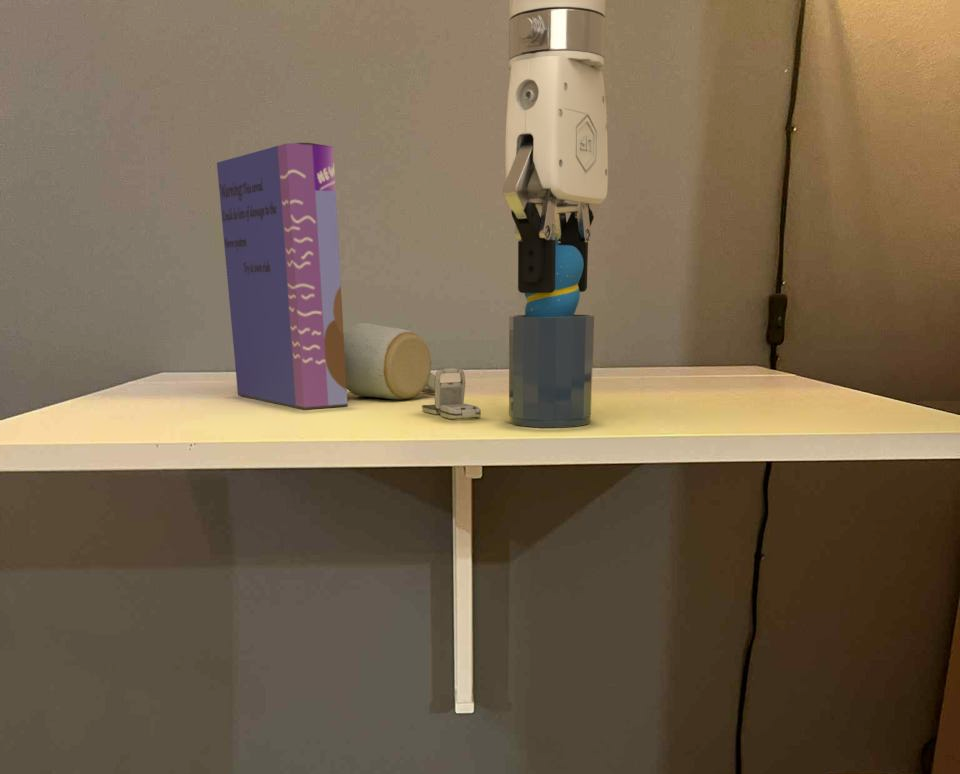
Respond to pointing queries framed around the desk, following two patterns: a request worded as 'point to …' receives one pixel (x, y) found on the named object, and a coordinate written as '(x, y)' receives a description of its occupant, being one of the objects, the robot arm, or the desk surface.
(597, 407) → the desk surface
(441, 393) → the strap clip
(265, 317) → the cereal box
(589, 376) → the cup
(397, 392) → the ceramic mug
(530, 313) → the ornament
